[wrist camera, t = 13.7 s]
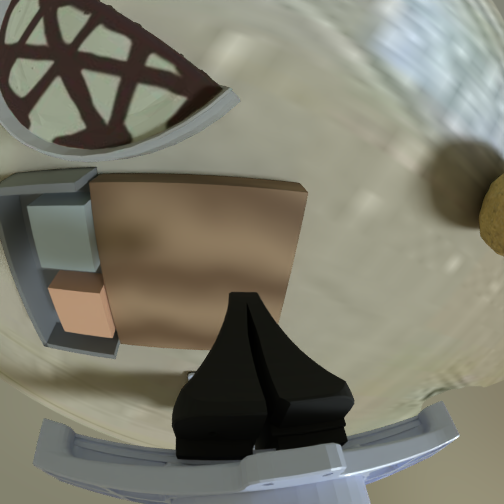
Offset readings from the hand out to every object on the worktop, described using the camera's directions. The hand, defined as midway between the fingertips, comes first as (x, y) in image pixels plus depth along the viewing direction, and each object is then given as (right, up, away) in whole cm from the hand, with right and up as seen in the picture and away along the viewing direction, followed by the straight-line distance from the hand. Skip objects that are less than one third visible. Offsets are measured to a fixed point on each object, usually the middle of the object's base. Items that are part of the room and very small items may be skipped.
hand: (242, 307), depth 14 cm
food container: (-7, +14, +1) cm, 15 cm away
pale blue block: (-13, +5, +4) cm, 14 cm away
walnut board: (-4, +1, +8) cm, 9 cm away
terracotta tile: (-14, -1, +8) cm, 16 cm away
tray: (-15, +2, +6) cm, 17 cm away
